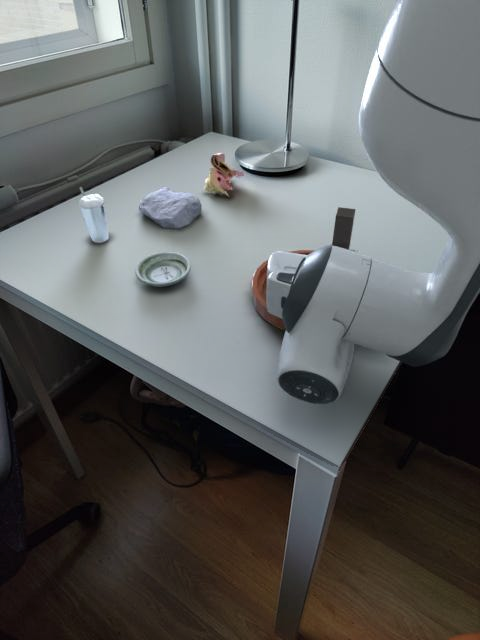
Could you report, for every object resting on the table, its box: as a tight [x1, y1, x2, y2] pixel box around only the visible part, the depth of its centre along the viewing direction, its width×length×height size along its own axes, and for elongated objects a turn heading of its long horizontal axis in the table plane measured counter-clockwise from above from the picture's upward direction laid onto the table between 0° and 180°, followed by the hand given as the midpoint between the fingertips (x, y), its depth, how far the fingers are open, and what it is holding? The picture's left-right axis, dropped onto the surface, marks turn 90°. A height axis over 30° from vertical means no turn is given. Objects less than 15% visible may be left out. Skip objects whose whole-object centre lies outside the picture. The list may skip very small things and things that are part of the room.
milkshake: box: [78, 186, 109, 244], centre depth 89 cm, size 5×5×10 cm
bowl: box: [251, 249, 316, 332], centre depth 76 cm, size 20×20×3 cm
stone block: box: [138, 186, 203, 230], centre depth 98 cm, size 12×5×10 cm
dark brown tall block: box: [331, 206, 356, 250], centre depth 73 cm, size 4×4×14 cm
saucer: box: [134, 251, 192, 288], centre depth 81 cm, size 10×10×2 cm
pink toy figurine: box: [203, 152, 245, 197], centre depth 106 cm, size 9×10×10 cm
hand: (340, 251), depth 74 cm, fingers closed on dark brown tall block, 2 cm apart
